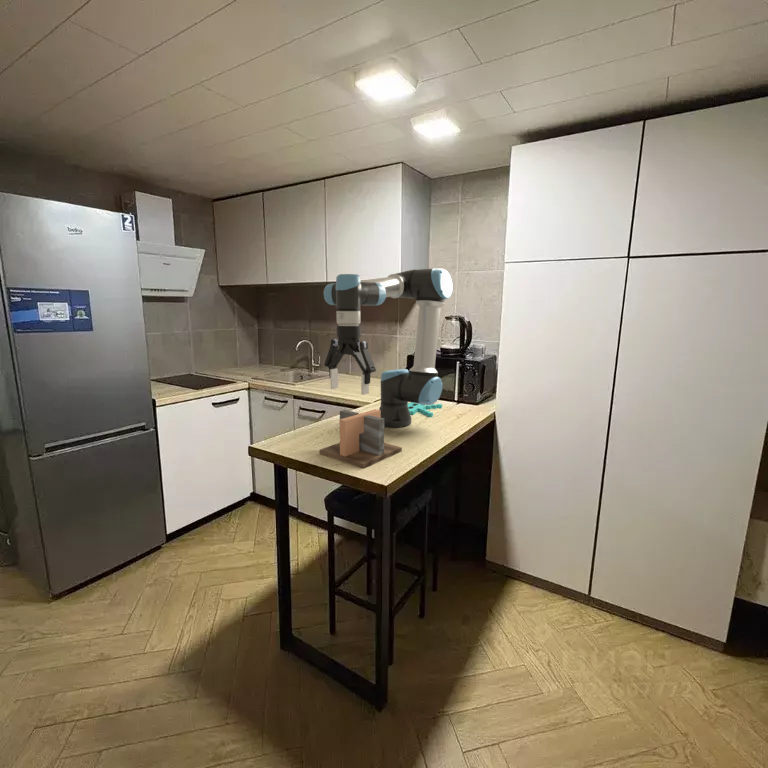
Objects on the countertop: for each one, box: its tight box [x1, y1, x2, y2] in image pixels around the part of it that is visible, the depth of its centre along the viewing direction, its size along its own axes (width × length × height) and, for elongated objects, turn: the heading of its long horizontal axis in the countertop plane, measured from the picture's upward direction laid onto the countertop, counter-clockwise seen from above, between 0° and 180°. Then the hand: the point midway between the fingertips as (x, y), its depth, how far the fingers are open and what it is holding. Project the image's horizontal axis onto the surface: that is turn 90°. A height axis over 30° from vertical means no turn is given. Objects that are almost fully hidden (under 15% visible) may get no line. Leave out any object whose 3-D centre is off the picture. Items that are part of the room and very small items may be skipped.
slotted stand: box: [319, 409, 403, 469], centre depth 143 cm, size 20×20×14 cm
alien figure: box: [408, 402, 443, 418], centre depth 203 cm, size 20×2×20 cm
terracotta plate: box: [339, 408, 381, 457], centre depth 143 cm, size 18×2×12 cm, turn 141°
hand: (349, 391), depth 136 cm, fingers open, 13 cm apart
